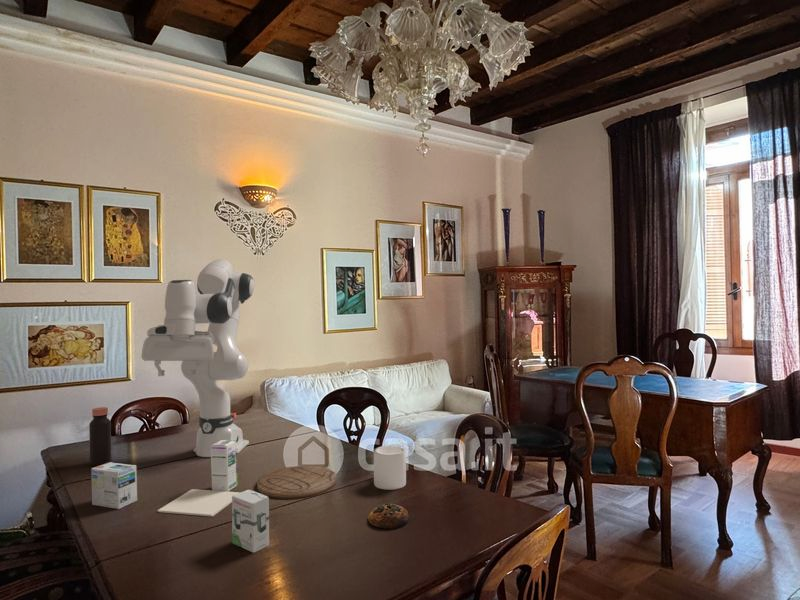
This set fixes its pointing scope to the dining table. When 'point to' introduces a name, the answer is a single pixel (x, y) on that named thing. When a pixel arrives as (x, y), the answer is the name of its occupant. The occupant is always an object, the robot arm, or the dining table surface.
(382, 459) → the mug
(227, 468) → the syrup box
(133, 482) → the light bulb box
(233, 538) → the ink box
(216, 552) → the dining table surface
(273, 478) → the trivet
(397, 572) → the dining table surface
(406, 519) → the bread roll
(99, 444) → the bottle
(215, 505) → the mat
